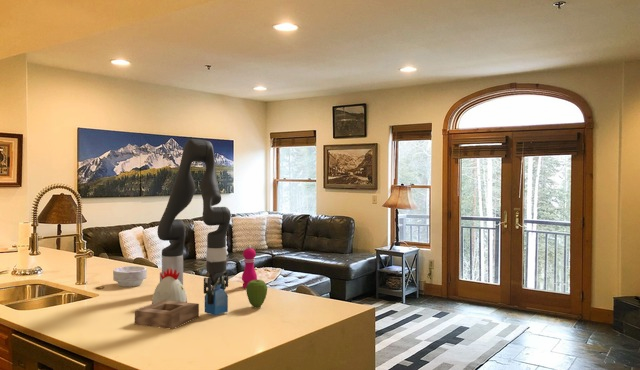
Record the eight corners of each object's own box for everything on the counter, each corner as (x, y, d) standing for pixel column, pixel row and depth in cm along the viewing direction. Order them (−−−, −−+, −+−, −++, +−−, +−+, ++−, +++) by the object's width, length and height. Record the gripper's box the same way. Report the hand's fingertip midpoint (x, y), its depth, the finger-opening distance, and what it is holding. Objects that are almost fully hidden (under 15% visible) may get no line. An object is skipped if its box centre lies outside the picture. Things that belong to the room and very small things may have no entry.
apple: (244, 305, 204) (244, 277, 204) (264, 303, 207) (264, 276, 207) (248, 311, 196) (248, 281, 196) (269, 309, 199) (269, 280, 199)
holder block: (134, 324, 178) (134, 310, 178) (163, 312, 193) (163, 300, 193) (172, 329, 172) (172, 314, 172) (198, 317, 188) (198, 303, 187)
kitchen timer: (177, 310, 197) (177, 272, 196) (145, 308, 200) (145, 271, 199) (193, 301, 210) (193, 266, 210) (162, 300, 213) (162, 265, 213)
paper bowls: (136, 289, 234) (136, 272, 233) (106, 287, 236) (106, 271, 236) (152, 282, 249) (152, 266, 248) (124, 281, 251) (124, 265, 251)
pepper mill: (238, 287, 237) (238, 245, 237) (247, 284, 243) (247, 243, 243) (251, 289, 234) (251, 246, 233) (259, 286, 240) (260, 244, 240)
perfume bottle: (217, 308, 196) (217, 278, 196) (227, 311, 193) (227, 280, 192) (204, 312, 192) (204, 281, 191) (214, 315, 188) (215, 283, 187)
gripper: (217, 255, 200) (217, 296, 200) (197, 261, 186) (197, 305, 186) (234, 256, 197) (234, 298, 197) (215, 262, 184) (214, 307, 184)
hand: (216, 301), depth 192 cm, fingers closed on perfume bottle, 7 cm apart
